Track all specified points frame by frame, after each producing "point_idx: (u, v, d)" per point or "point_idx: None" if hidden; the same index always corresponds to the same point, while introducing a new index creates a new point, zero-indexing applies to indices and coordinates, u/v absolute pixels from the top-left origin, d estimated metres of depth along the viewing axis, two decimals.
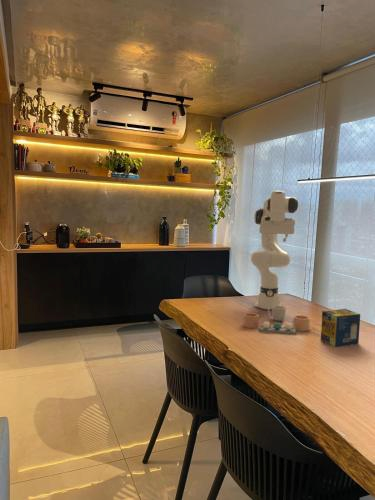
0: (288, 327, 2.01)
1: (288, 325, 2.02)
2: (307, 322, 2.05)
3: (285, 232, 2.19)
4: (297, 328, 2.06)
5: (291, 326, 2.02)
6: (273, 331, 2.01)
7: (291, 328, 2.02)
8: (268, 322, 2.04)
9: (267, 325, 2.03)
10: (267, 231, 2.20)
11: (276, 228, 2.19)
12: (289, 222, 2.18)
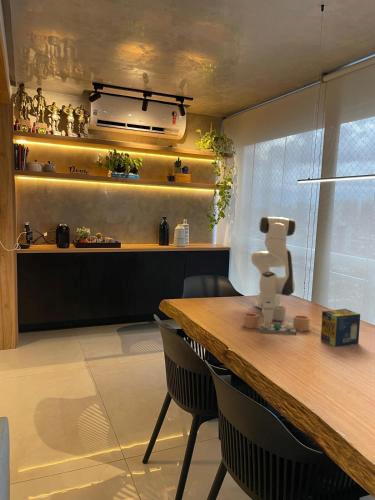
0: (288, 327, 2.01)
1: (288, 325, 2.02)
2: (307, 322, 2.05)
3: None
4: (297, 328, 2.06)
5: (291, 326, 2.02)
6: (273, 331, 2.01)
7: (291, 328, 2.02)
8: None
9: None
10: None
11: None
12: None
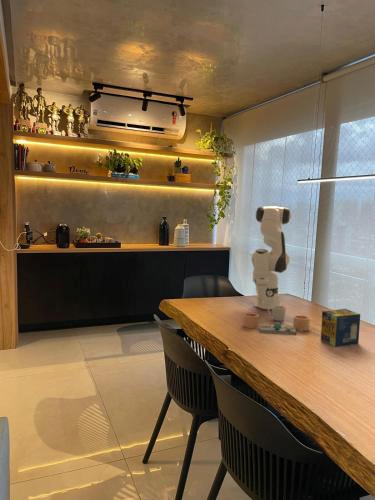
0: (288, 327, 2.01)
1: (288, 325, 2.02)
2: (307, 322, 2.05)
3: None
4: (297, 328, 2.06)
5: (291, 326, 2.02)
6: (273, 331, 2.01)
7: (291, 328, 2.02)
8: None
9: None
10: None
11: None
12: None
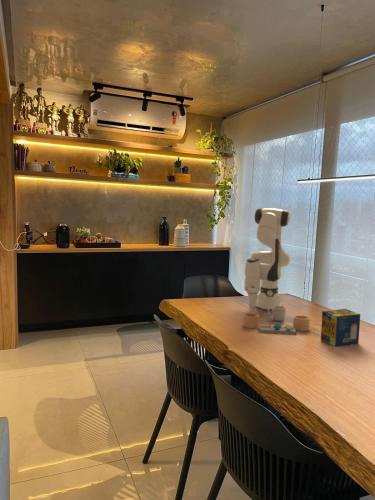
0: (288, 327, 2.01)
1: (288, 325, 2.02)
2: (307, 322, 2.05)
3: None
4: (297, 328, 2.06)
5: (291, 326, 2.02)
6: (273, 331, 2.01)
7: (291, 328, 2.02)
8: None
9: None
10: None
11: None
12: None
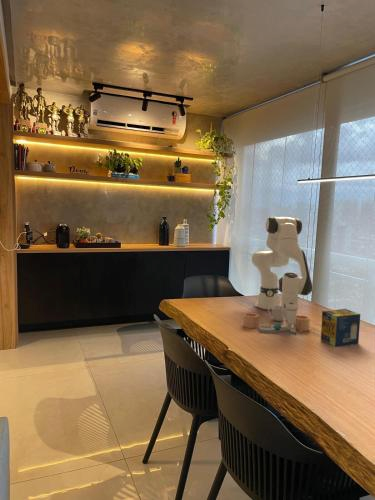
0: None
1: None
2: (307, 322, 2.05)
3: None
4: (297, 328, 2.06)
5: (291, 326, 2.02)
6: (273, 331, 2.01)
7: (291, 328, 2.02)
8: None
9: None
10: None
11: None
12: None
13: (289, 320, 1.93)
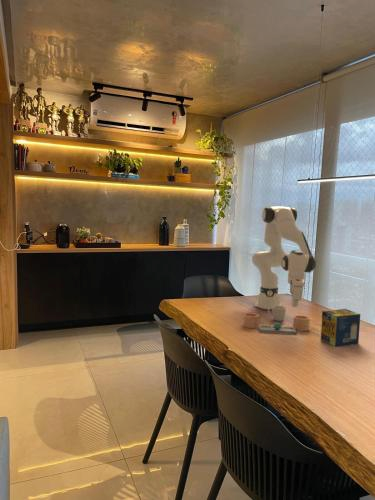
0: None
1: None
2: (307, 322, 2.05)
3: None
4: (297, 328, 2.06)
5: None
6: (273, 331, 2.01)
7: (297, 305, 2.04)
8: None
9: None
10: None
11: None
12: None
13: (295, 296, 1.95)
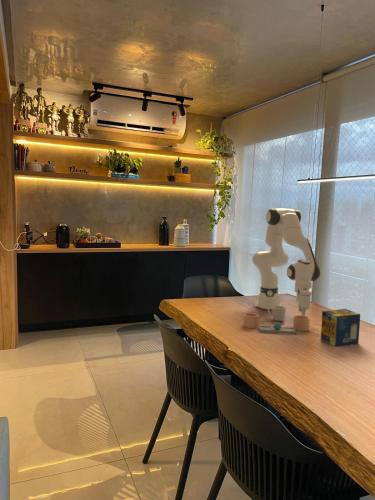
0: None
1: None
2: (307, 322, 2.05)
3: None
4: (297, 328, 2.06)
5: None
6: (273, 331, 2.01)
7: None
8: None
9: None
10: None
11: None
12: None
13: (303, 305, 1.98)
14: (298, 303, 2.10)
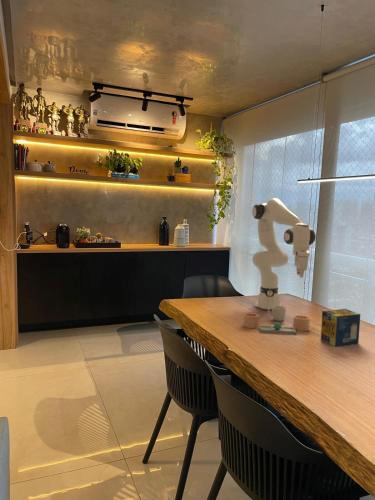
0: None
1: None
2: (307, 322, 2.05)
3: None
4: (297, 328, 2.06)
5: None
6: (273, 331, 2.01)
7: None
8: None
9: None
10: None
11: None
12: None
13: (301, 266, 2.02)
14: (296, 266, 2.14)
